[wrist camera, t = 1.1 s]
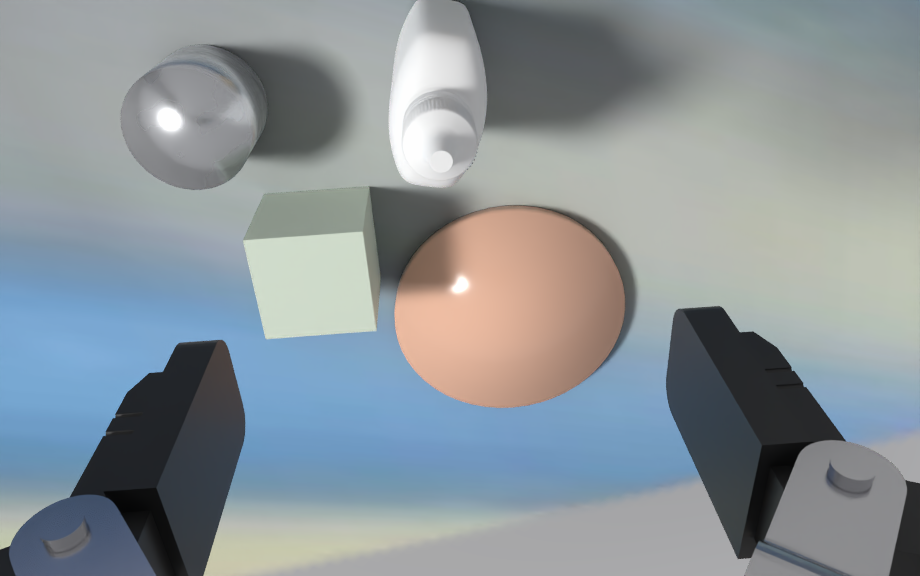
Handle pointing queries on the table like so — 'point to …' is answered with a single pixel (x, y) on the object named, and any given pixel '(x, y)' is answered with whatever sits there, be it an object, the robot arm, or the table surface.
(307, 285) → the sage block
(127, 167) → the table surface
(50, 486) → the table surface
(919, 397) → the table surface
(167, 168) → the steel puck
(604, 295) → the salmon disc
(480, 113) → the eye dropper bottle
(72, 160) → the table surface
